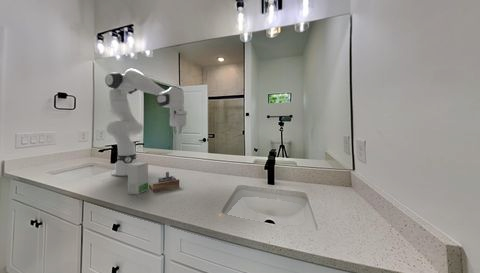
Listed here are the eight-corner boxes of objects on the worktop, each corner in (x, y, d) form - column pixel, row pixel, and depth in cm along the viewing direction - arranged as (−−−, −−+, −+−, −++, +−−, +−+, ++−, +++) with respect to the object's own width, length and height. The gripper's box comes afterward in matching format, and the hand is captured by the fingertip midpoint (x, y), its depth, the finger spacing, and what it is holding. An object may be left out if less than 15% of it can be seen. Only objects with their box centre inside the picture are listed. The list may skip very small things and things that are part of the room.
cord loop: (158, 183, 106) (158, 178, 106) (172, 181, 111) (172, 175, 111) (161, 186, 101) (161, 181, 101) (176, 183, 106) (176, 178, 106)
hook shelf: (148, 186, 105) (148, 172, 105) (172, 181, 114) (172, 168, 114) (153, 192, 96) (153, 177, 95) (179, 187, 105) (179, 172, 104)
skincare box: (137, 194, 93) (137, 165, 92) (127, 193, 94) (126, 164, 93) (149, 189, 101) (148, 162, 100) (139, 188, 102) (138, 161, 101)
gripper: (167, 112, 121) (167, 133, 122) (177, 111, 105) (177, 134, 106) (176, 113, 125) (176, 132, 126) (187, 111, 109) (188, 134, 110)
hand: (177, 133), depth 116 cm, fingers open, 8 cm apart
